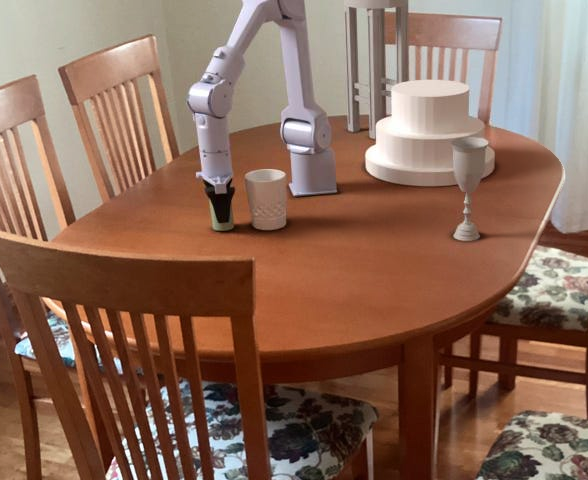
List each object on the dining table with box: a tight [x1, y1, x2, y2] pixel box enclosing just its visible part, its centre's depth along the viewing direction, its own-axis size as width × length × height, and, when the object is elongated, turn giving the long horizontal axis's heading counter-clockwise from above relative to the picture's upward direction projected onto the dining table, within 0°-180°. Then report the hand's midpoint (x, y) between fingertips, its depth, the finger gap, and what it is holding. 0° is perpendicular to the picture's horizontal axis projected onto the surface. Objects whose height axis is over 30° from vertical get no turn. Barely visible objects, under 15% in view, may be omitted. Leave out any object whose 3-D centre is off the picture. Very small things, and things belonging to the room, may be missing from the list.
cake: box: [364, 79, 496, 187], centre depth 210 cm, size 30×30×18 cm
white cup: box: [244, 168, 287, 231], centre depth 180 cm, size 8×8×10 cm
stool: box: [343, 0, 410, 140], centre depth 232 cm, size 16×16×35 cm
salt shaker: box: [208, 198, 235, 232], centre depth 179 cm, size 4×4×8 cm
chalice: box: [451, 137, 490, 242], centre depth 172 cm, size 7×7×18 cm
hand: (222, 218), depth 180 cm, fingers closed on salt shaker, 4 cm apart
